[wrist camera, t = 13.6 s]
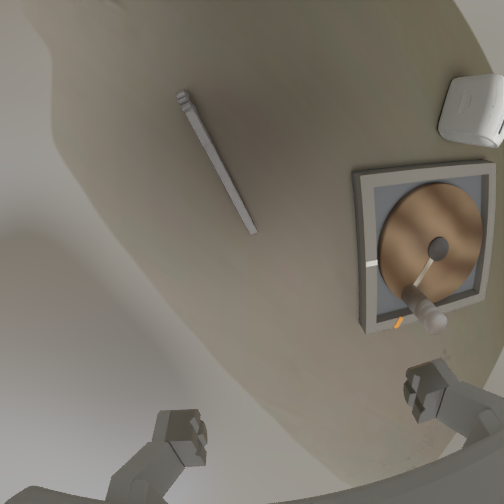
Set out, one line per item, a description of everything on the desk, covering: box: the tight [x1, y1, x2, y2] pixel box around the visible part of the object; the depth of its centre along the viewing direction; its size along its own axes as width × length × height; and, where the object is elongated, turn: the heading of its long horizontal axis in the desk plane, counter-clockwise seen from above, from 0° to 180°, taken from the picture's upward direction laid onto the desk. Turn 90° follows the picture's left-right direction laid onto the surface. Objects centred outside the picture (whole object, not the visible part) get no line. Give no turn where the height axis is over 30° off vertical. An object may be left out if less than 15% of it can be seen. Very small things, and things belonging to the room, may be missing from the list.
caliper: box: [176, 89, 258, 235], centre depth 37 cm, size 20×1×6 cm, turn 25°
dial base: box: [352, 160, 496, 334], centre depth 43 cm, size 24×24×3 cm
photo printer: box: [438, 74, 504, 148], centre depth 32 cm, size 10×4×12 cm, turn 160°
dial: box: [377, 182, 483, 335], centre depth 39 cm, size 19×19×11 cm
